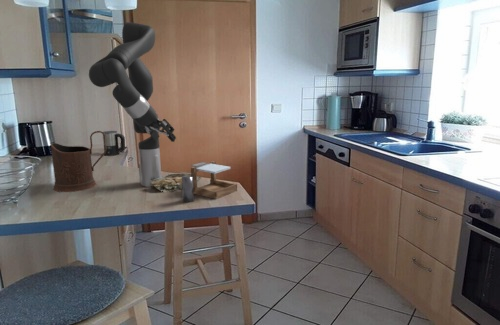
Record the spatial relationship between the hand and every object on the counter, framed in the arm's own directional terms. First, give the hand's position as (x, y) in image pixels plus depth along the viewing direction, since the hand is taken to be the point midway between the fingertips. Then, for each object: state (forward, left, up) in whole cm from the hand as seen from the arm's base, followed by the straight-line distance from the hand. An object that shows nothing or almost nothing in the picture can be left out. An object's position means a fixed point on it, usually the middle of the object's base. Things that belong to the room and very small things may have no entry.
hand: (165, 139), depth 138 cm
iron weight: (-1, +11, -27) cm, 29 cm away
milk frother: (-108, +52, -27) cm, 123 cm away
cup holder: (-57, -2, -27) cm, 63 cm away
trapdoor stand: (-1, +26, -27) cm, 37 cm away
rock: (-19, +22, -27) cm, 40 cm away
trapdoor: (-2, +26, -18) cm, 31 cm away
